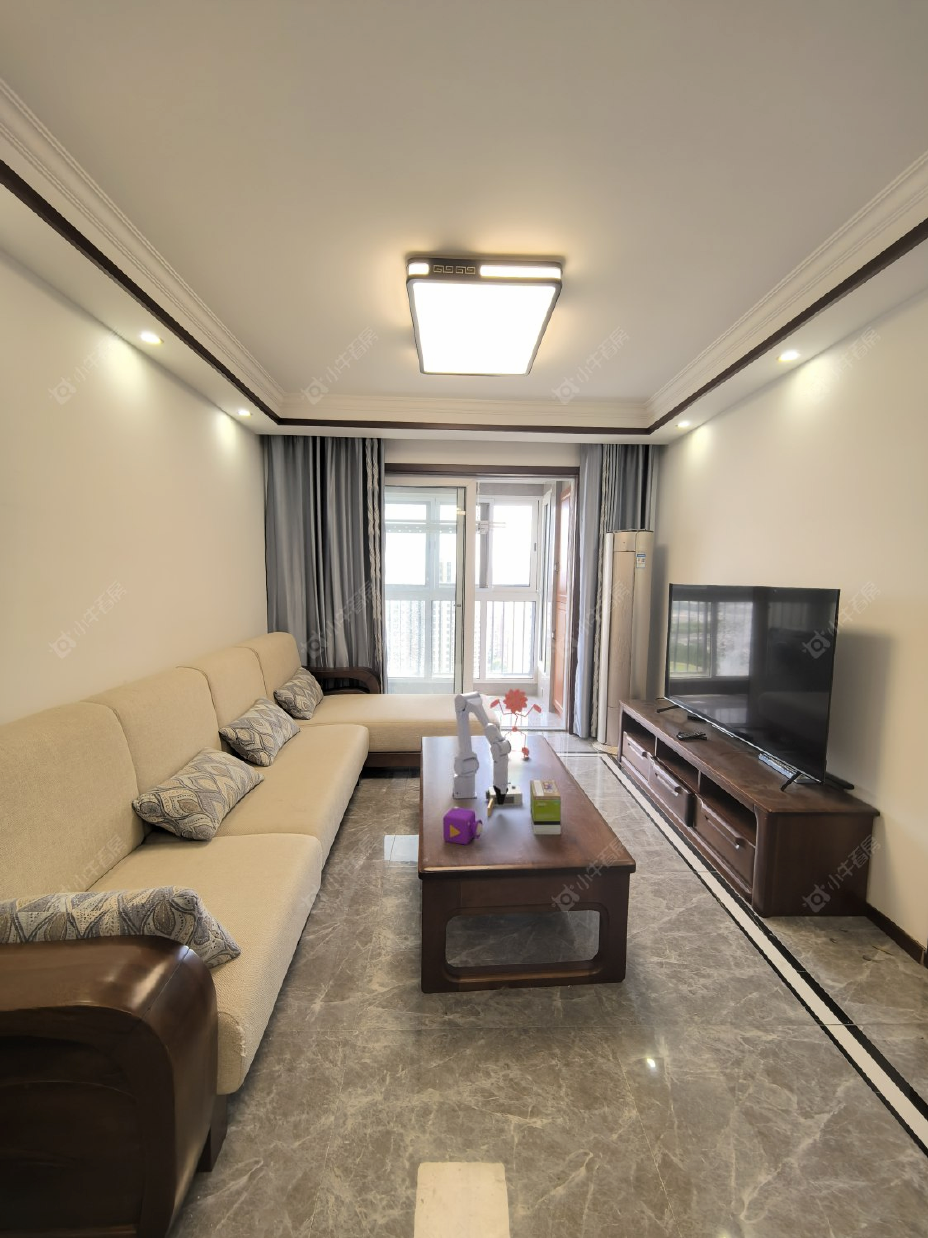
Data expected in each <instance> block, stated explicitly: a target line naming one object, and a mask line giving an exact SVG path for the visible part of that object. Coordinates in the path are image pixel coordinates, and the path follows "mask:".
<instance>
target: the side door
mask: <svg viewBox="0 0 928 1238" xmlns="http://www.w3.org/2000/svg"><path fill="white" fill-rule="evenodd" d="M493 808H494V806H493V797H491V800H490V802H489V801H488V805H487V808H486V811H487V817H489V818H490V816H491V813H492V811H493Z"/></svg>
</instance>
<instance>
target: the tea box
mask: <svg viewBox="0 0 928 1238" xmlns="http://www.w3.org/2000/svg"><path fill="white" fill-rule="evenodd" d="M529 787H530V788H529V792H530V793H529V794H530V797H529V799H530V800H529V801H530V804H529V805H530V806H529V807H530V808H529V809H530V819H531V826H532V830H533V835H561V834H562V833H561V829H562V828H561V825H562V823H561V820H562V819H561V818H562V817H561V815H562V814H561V813H562V812H561V811H562V809H561V808H562V806H561V805H562V804H561V803H562V801H561V798H562V797H561V793H560V792H559V788H558V785H557V783H556V780H555V779H553V780H552V779H548V780H547V779H546V780H545V779H544V780H541V779H538V780H537V779H535V780H532V779H530V780H529Z"/></svg>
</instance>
